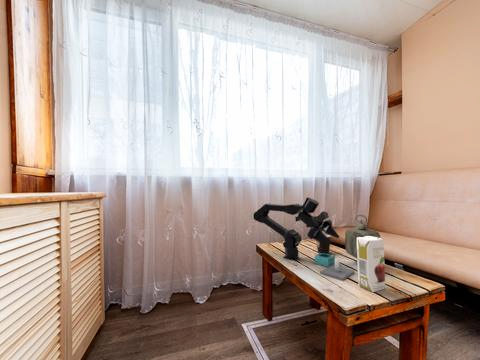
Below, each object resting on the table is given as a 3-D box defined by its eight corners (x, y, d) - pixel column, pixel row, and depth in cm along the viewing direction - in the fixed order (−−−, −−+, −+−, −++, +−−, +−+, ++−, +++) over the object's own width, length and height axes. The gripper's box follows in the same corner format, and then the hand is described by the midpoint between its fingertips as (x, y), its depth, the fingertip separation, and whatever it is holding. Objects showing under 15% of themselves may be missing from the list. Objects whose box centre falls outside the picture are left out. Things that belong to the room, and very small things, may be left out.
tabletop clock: (382, 269, 100) (380, 216, 101) (367, 271, 98) (364, 217, 99) (358, 259, 114) (356, 213, 115) (344, 261, 112) (342, 213, 113)
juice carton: (355, 285, 84) (353, 237, 85) (369, 281, 87) (367, 234, 88) (373, 294, 77) (371, 241, 78) (388, 289, 80) (386, 238, 81)
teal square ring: (314, 263, 109) (314, 255, 109) (321, 260, 114) (321, 252, 114) (328, 267, 104) (328, 258, 104) (335, 263, 108) (334, 255, 109)
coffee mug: (332, 254, 123) (332, 237, 123) (317, 254, 125) (316, 236, 125) (328, 249, 134) (328, 233, 135) (314, 248, 136) (313, 232, 137)
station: (320, 273, 96) (320, 260, 96) (332, 267, 104) (332, 254, 104) (342, 280, 88) (342, 266, 89) (354, 272, 96) (354, 259, 96)
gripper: (306, 210, 102) (335, 232, 93) (324, 205, 115) (350, 223, 106) (297, 228, 107) (323, 250, 97) (314, 220, 120) (339, 239, 110)
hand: (335, 239), depth 103 cm, fingers open, 9 cm apart
